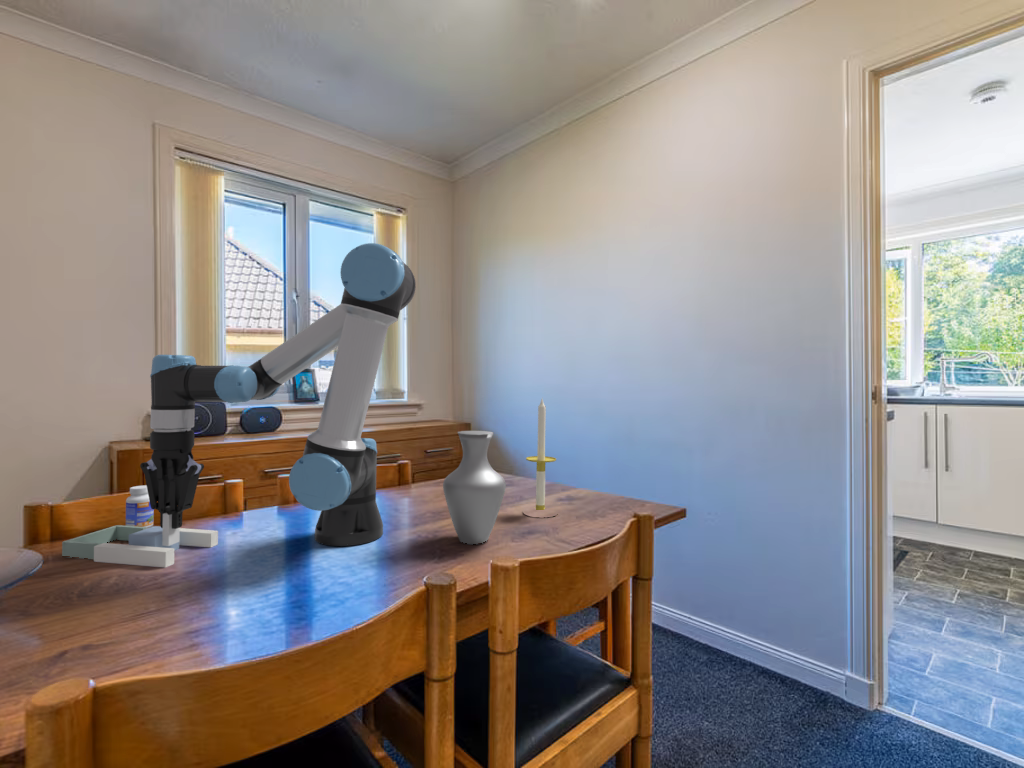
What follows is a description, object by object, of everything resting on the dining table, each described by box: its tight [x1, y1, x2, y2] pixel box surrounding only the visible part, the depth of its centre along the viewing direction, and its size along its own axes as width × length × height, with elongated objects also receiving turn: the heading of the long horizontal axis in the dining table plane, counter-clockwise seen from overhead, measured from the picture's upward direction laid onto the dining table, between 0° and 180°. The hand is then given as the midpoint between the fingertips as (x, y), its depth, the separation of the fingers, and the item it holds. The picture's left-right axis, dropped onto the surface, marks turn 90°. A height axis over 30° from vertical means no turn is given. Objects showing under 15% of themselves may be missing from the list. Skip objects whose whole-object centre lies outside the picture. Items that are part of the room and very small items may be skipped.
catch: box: [61, 524, 147, 560], centre depth 104 cm, size 8×12×3 cm, turn 171°
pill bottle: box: [125, 484, 155, 529], centre depth 119 cm, size 5×5×10 cm
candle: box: [525, 398, 557, 510], centre depth 137 cm, size 10×10×32 cm
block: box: [128, 525, 180, 552], centre depth 102 cm, size 6×6×4 cm
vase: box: [442, 430, 507, 545], centre depth 113 cm, size 14×14×25 cm
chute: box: [93, 527, 219, 569], centre depth 102 cm, size 16×14×3 cm
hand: (170, 543), depth 101 cm, fingers closed
